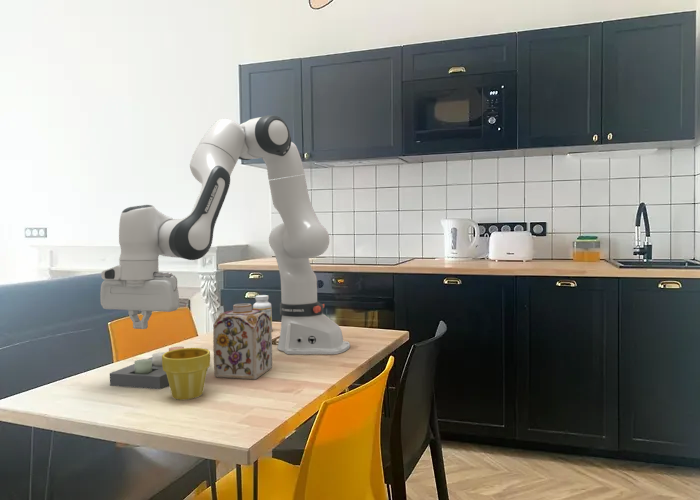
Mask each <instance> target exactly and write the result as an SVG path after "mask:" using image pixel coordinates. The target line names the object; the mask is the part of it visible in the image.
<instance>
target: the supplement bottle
mask: <svg viewBox="0 0 700 500" xmlns="http://www.w3.org/2000/svg"><path fill="white" fill-rule="evenodd" d="M254 299H255V303H253V305H252V309H259V310H262V311H264V312H266V314H267V315H268V316H269V317H270V318H271V331H272V330H273V316H272V315H273V313H272V311H273V310H272V303H271V302H269V299H270V298H269V294H268V295H266V294H260V295H259V294H258V295H255V298H254Z"/></svg>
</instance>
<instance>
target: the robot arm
mask: <svg viewBox="0 0 700 500" xmlns="http://www.w3.org/2000/svg"><path fill="white" fill-rule="evenodd" d="M254 159H255V160H256V159H262V160H263V162H264V164H265V166H266V170H267V171H266V172H267V178H268V183H269V189H270V195H271V200H272V205H273V207H274V208H275V210H276V211H277V212H278V214H279V216H280V217H281V218H280V219H282V220H281V221H282V223H281V224H279V225H277V226H275V227H273V228H272V230H271V231H270V233H269V237H268V243H269V246H270V248H271V250H272V252H273V253H274V256H275V260H276V263H277V267H278V272H279V277H280V293H281V295H280V296H281V298H280V299H281V302H280V303H279V315H280V316H279V317H280V322H281V323H280V332H279V339H278V343H277V350H278V351H281V352H284V353H285V354H287V355H337V354H338V355H339V354H341V353H344V352H346V351H348V350H349V349H350V348H351V343H350V342H349V341H347V340H346V341H345V340H344V337H343V332H342V328H341V327H340V325H339V324H337V323H336V322H335V321H333V320H332V319H331V318H329V317H328V316H327V315H325V314H324V308H325V303H323V304H322V303H321V302H320V301H318V283H317V282H318V279H317V275H316V273H315V272H314V270H313V268H312V265H311V263H310V259H312V258H316V257H318V256H319V257H320V256H321V255H323V254H324V253H325V252H326V251H327V250H328V248H329V245H330V235H329V232H328V230H327V229H326V228H325V227H324V226H323V225H322V224H321V222H320V221H319V218H318V217H317V214H316V212H315V210H314V208H313V205H312V202H311V199H310V195H309V190H308V185H307V180H306V175H305V169H304V164H303V161H302V158H301V155H300V152H299V150H298V147H297V145H296V144H295V143H294V142H293V141H292V137H291V132H290V129H289V127H288V125H287V123H286V122H285V121H284V119H283V118H281V117H280V116H277V115H271V114H269V115H263V116H261V117H254V118H250V119H248V120H247V121H244V122H242V123H240V124H239V123H238V122H236V121H235V120H233V119H230V118H220V119H218V120H216V121H215V122H214V123H213V124H212V125H211V126H210V127H209V129H208V130H207V131H206V133H204V135H203V137H202V138H201V139H200V141H199V143H198V144H197V146H196V147H195V150H194V151H193V154H192V156H191V160H190V163H189V168H190V172H191V175H192V176H193V178H195V180H196V181H197V182H198V183H200V184H201V188H200V191H199V194H198V196H197V199H196V200H195V204H194V205H193V208H192V210H191V212H190V213H189V214H188V215H187V216H185V217H183V218H173V217H170V216H168V215H166V214H164V213H162V212H161V211H159V210H158V209H156V208H155V206H154V205H151V204H143V205H135V206H130V207H127V208H125V209H123V210H122V212H121V213H120V218H119V224H118V243H119V247H120V255H119V259H118V262H119V264H117V265H115V266H113V267H110V268H107V269H105V270H102V271H101V273H100V275H101V276H100V277H101V279H102V280H103V281H102V283H101V284H100V294H99V295H100V296H99V297H100V299H99V300H100V305H101V307H102V308H103V309H104V310H117V311H118V310H119V311H121V310H123V311H128V316H129V319H130V320H131V321H132V328H133V329H134V330H137V329H138V330H139V329H140V330H145V329H146V330H147V329H148V328H149V326H148V325H149V324H148V321H149V320H150V319H151V316H152V314H153V312H167V313H169V312H174V311H177V310H178V309H179V307H180V305H181V304H180V296H179V289H178V278H177V277H176V275H174V274H173V273H172V272H160V271H159V268H160V267H159V256H163V257H170V258H179V259H180V258H181V259H184V260H188V261H196V260H199V259H201V258H203V257H204V256H206V254H208V252H209V251H210V250H211V247H212V244H213V237H214V230H215V225H216V223H217V220H218V217H219V215H220V212H221V210H222V207H223V204H224V202H225V200H226V197H227V194H228V192H229V189H230V185H231V175H232V173H233V171H234V169H235V166H237V165H236V164H237V163H238V160H241V161H250V160H254ZM140 311H141V316H142V317H141V320H140V317H139V315H138V314H139V313H140Z"/></svg>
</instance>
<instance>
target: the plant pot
mask: <svg viewBox="0 0 700 500" xmlns="http://www.w3.org/2000/svg"><path fill="white" fill-rule="evenodd" d="M163 353H164V354H163V355H162V366H163V370H164V371H165V372H166V374H167V378H168V382H169V385H168V386H169V389H170V393H171V397H172V398H173V399H174V400H179V401H180V400H181V401H184V400H185V401H186V400H187V401H188V400H193V399H197V398H199V397H200V396H202V395H203V393H204V388H205V384H206V383H205V382H206V377H207V372H208V369H209V367H211V351H210V350H209V349H207V348H202V347H184V348H182V349H176V350H171V351H169V350H168V351H166V352H163Z"/></svg>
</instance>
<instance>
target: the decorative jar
mask: <svg viewBox="0 0 700 500" xmlns="http://www.w3.org/2000/svg"><path fill="white" fill-rule="evenodd" d="M232 306H233V307H232V308H233V309H231V310H226V311H222V312H221V313H219V315H218V316H217V318H216V320H215V321H214V323H213V327H212V328H213V335H212V336H213V341H212V343H213V346H212V347H213V351H212V352H213V369H214V370H213V371H214V372H213V374H214V375H213V376H214V377H215V378H220V379H221V378H222V379H223V378H224V379H237V380H238V379H240V380H241V379H242V380H254V381H255V380H257V379H258V378H259V377H261V376H263V375H264V374H265V373H267V372H269V371H270V370H272V368H273V337H272V336H273V334H272V330H271V318H270V317H269V316H268V315H267V314H266V312H264V311H262V310H259V309H253V305H252V304H251V303H235V304H233V305H232Z"/></svg>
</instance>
